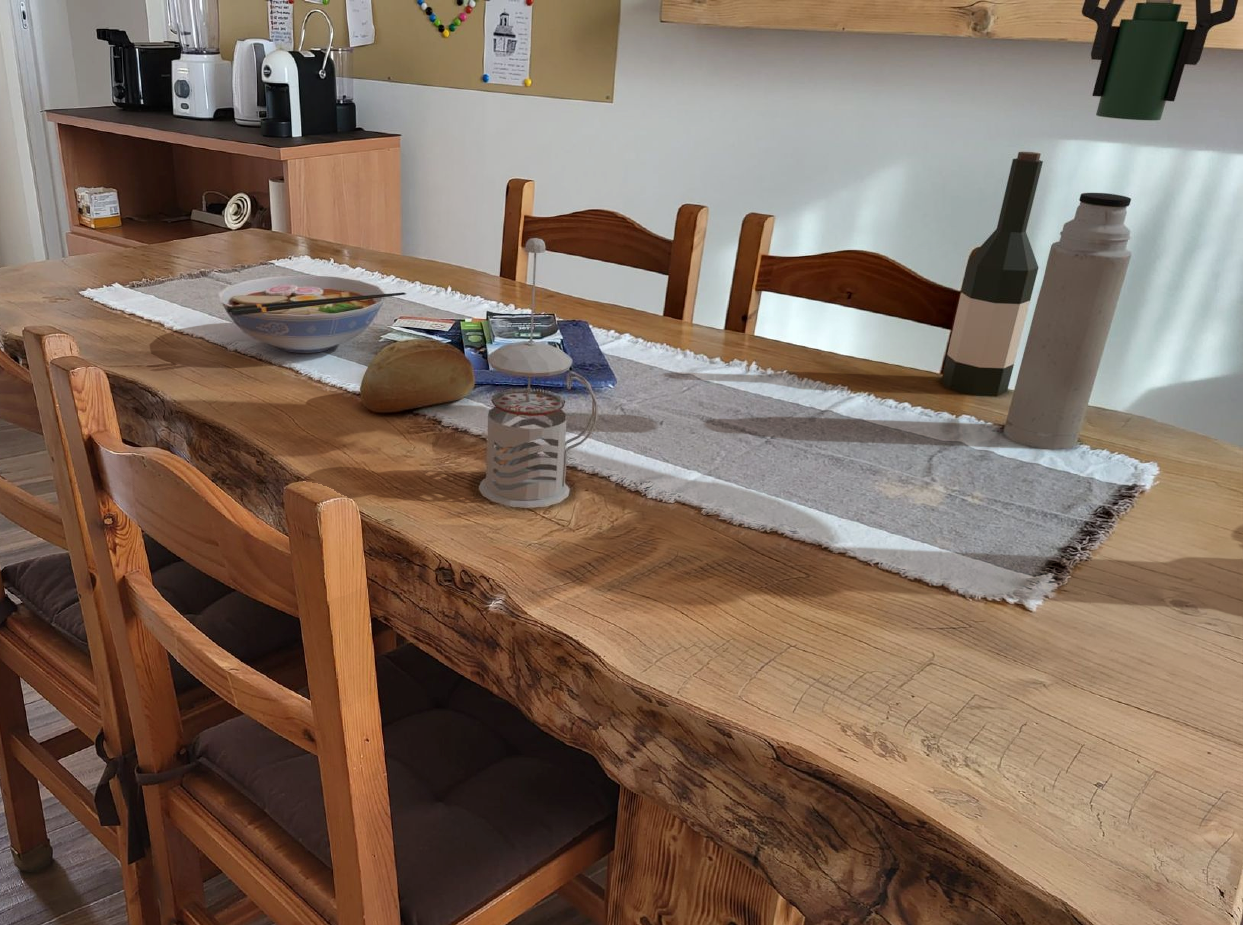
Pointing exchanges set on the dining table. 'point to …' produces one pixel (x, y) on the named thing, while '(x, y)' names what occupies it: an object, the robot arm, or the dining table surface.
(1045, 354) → the thermos bottle
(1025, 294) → the wine bottle
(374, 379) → the bread roll
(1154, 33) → the green bottle
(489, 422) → the french press
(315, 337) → the ramen bowl
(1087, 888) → the dining table surface
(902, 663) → the dining table surface
